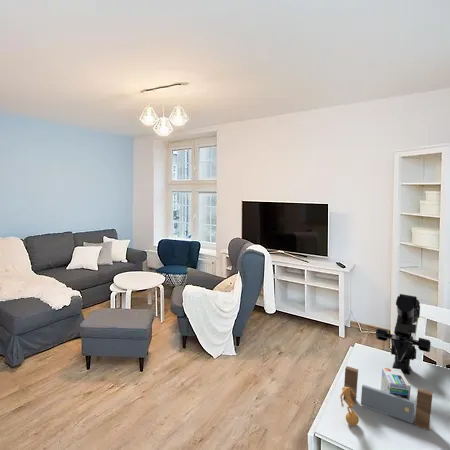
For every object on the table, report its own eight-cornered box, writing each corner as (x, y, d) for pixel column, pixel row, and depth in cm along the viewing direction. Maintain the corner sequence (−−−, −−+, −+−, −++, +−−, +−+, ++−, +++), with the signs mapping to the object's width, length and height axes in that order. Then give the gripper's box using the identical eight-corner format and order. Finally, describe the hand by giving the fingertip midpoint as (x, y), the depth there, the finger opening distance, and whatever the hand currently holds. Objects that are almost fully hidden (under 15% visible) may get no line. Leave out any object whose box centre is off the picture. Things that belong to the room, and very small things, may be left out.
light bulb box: (409, 415, 110) (411, 386, 109) (387, 412, 112) (390, 383, 110) (398, 395, 121) (401, 368, 119) (379, 393, 122) (381, 366, 121)
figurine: (350, 433, 102) (352, 398, 100) (333, 422, 106) (335, 388, 105) (364, 422, 107) (366, 388, 105) (347, 412, 111) (349, 379, 110)
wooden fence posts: (344, 396, 120) (346, 365, 118) (429, 426, 105) (432, 392, 104) (343, 399, 118) (345, 368, 117) (428, 430, 103) (432, 395, 102)
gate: (361, 402, 115) (362, 384, 115) (413, 421, 107) (414, 401, 106) (360, 406, 114) (361, 387, 113) (412, 425, 105) (414, 405, 104)
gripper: (378, 308, 131) (371, 345, 123) (432, 320, 120) (429, 361, 113) (379, 320, 138) (373, 356, 130) (431, 332, 128) (427, 371, 120)
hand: (399, 360), depth 123 cm, fingers closed
